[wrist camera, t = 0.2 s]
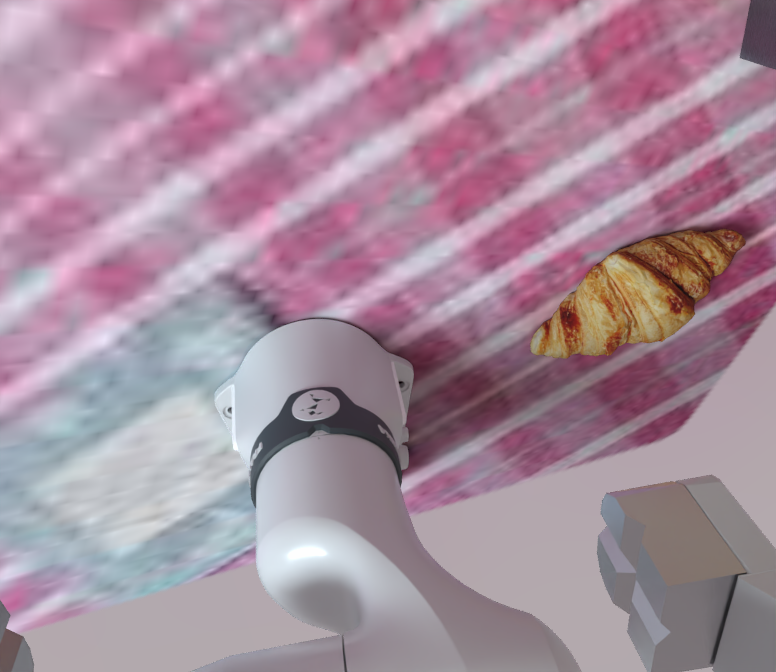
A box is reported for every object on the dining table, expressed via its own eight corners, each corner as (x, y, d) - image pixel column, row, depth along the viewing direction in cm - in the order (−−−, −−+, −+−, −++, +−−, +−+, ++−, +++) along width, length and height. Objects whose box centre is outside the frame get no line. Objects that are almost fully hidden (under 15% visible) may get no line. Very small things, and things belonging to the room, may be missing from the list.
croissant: (527, 342, 72) (565, 407, 68) (501, 305, 63) (544, 377, 59) (716, 231, 68) (769, 293, 64) (717, 176, 59) (777, 244, 55)
